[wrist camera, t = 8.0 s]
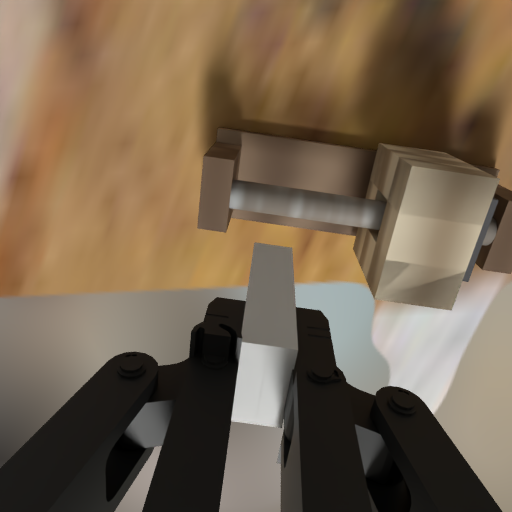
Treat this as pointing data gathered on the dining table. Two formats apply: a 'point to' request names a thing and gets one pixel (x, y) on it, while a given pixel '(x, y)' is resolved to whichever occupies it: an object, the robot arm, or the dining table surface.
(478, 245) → the dark grey flat block
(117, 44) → the dining table surface
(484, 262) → the pipe stand
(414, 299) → the sleeve
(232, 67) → the dining table surface
